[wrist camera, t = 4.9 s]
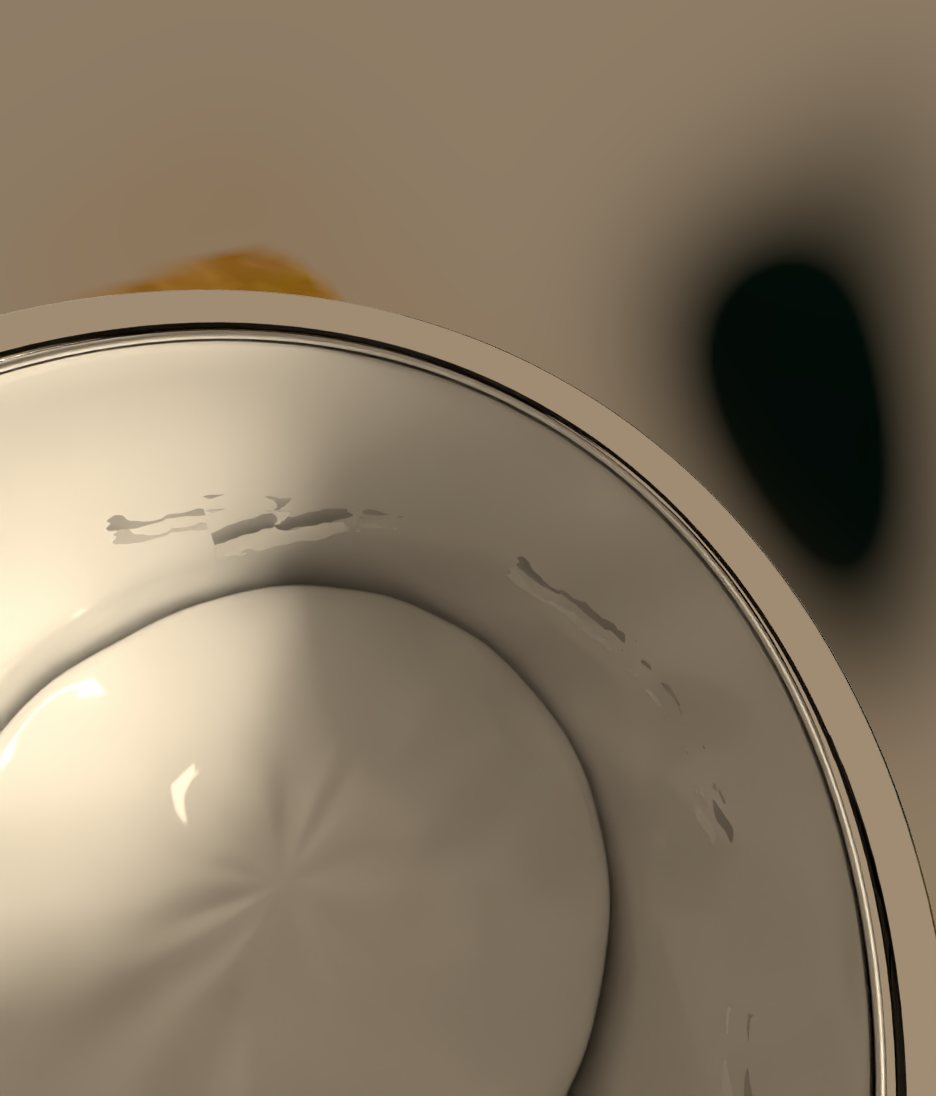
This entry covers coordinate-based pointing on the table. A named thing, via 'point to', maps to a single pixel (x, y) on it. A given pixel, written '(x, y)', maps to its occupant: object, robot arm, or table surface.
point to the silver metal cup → (414, 736)
